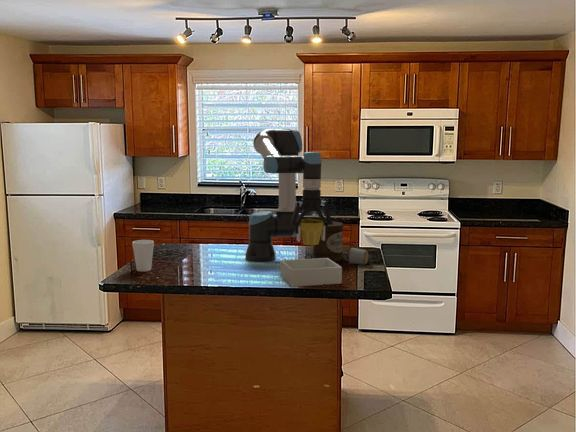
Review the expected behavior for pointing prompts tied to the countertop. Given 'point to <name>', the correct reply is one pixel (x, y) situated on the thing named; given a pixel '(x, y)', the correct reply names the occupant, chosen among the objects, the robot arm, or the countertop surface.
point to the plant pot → (311, 231)
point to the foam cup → (143, 254)
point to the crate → (310, 272)
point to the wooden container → (330, 243)
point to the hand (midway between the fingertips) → (310, 240)
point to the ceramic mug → (358, 256)
